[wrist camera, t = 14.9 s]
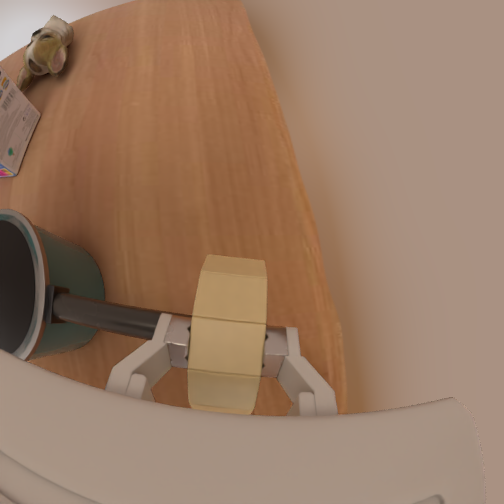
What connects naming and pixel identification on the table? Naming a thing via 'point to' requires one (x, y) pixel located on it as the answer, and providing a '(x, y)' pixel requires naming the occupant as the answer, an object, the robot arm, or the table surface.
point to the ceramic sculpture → (46, 52)
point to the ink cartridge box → (14, 125)
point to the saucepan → (56, 294)
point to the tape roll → (227, 335)
